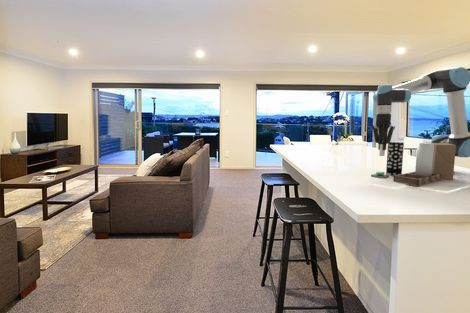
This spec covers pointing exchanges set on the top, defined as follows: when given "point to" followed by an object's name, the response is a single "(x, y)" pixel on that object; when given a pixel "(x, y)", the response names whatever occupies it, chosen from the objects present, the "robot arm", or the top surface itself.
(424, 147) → the seated billet
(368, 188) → the top surface
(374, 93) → the robot arm
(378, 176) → the button housing
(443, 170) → the wooden block
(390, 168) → the spotted tube
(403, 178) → the divided wooden tray
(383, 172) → the button
